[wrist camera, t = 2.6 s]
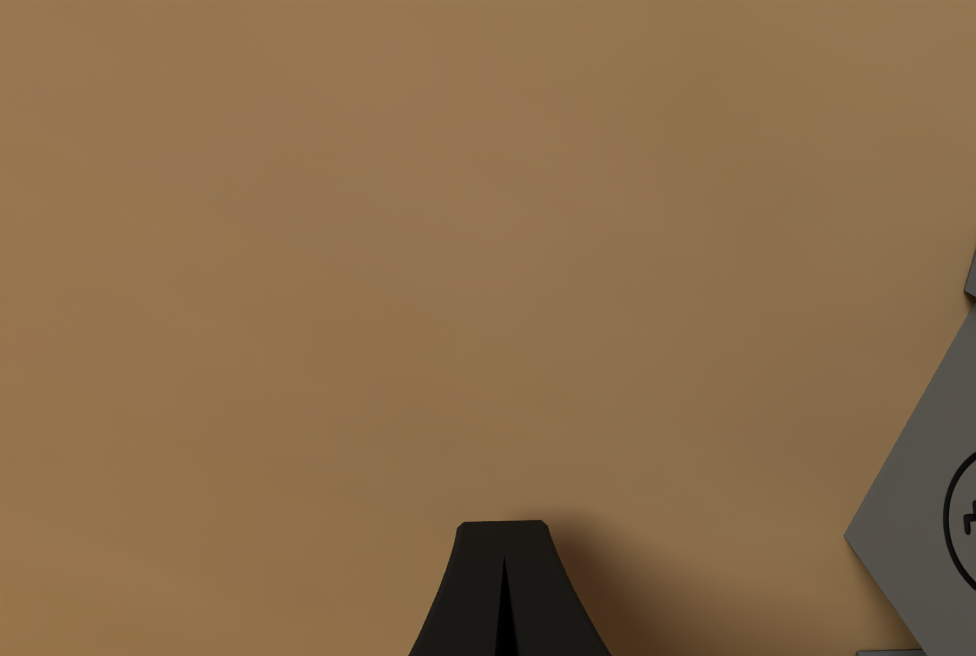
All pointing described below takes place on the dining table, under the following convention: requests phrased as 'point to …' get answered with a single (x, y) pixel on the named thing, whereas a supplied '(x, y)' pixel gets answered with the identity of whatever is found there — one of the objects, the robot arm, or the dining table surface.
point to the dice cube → (930, 510)
